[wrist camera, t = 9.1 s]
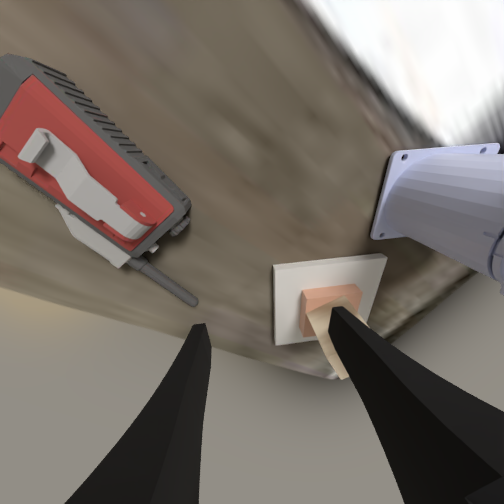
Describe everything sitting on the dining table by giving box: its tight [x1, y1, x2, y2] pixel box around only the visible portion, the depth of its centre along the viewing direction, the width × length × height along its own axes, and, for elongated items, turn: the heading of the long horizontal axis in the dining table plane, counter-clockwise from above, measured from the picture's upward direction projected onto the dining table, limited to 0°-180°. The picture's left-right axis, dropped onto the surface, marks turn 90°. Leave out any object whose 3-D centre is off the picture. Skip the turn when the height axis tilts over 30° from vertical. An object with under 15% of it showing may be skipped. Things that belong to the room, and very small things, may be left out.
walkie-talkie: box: [0, 54, 198, 307], centre depth 15 cm, size 9×4×20 cm
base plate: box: [273, 253, 388, 345], centre depth 22 cm, size 12×12×2 cm
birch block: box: [306, 295, 370, 380], centre depth 19 cm, size 4×4×5 cm
